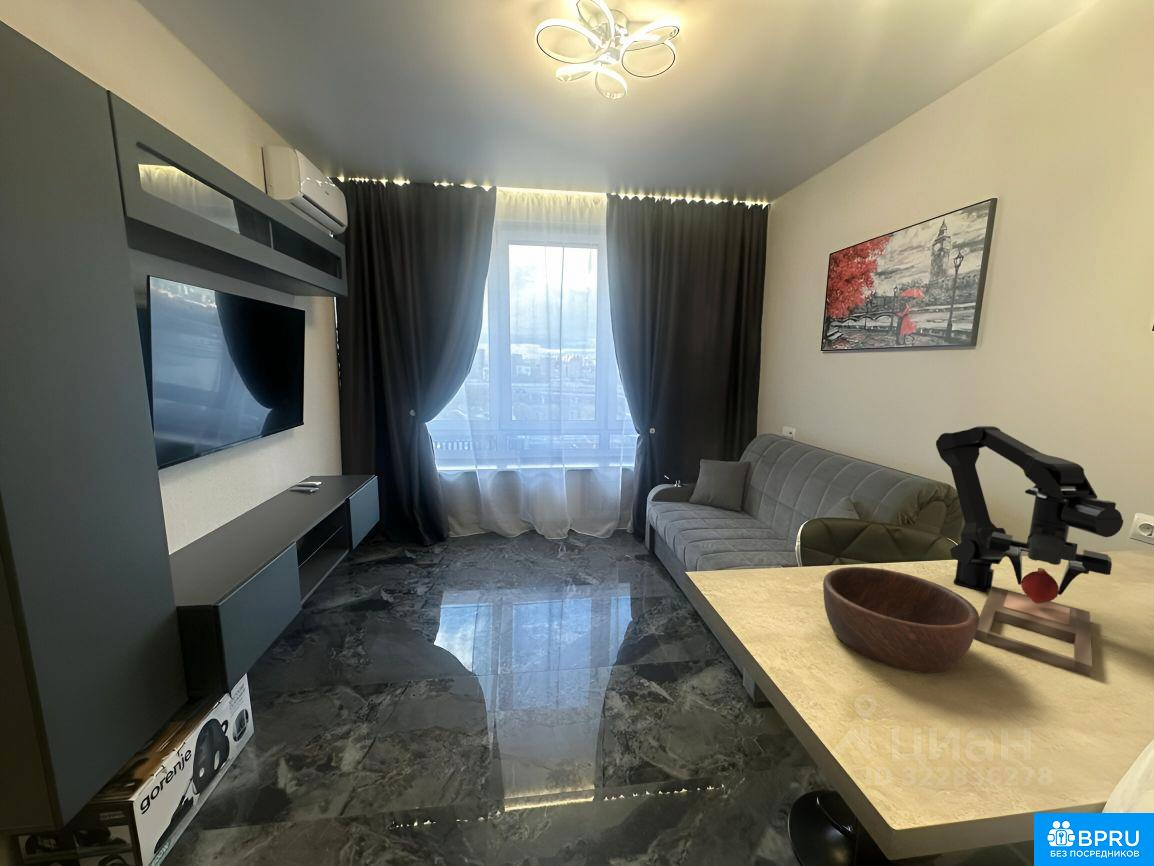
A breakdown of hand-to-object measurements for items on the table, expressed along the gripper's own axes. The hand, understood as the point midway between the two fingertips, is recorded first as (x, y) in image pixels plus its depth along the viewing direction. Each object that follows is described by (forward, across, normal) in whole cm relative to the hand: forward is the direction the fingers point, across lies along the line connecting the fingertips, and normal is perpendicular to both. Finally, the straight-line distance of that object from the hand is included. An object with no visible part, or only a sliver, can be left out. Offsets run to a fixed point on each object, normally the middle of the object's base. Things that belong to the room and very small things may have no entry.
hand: (1039, 589), depth 102 cm
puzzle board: (+6, 0, -7) cm, 10 cm away
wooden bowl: (+7, -19, -35) cm, 40 cm away
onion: (+3, 0, 0) cm, 3 cm away
